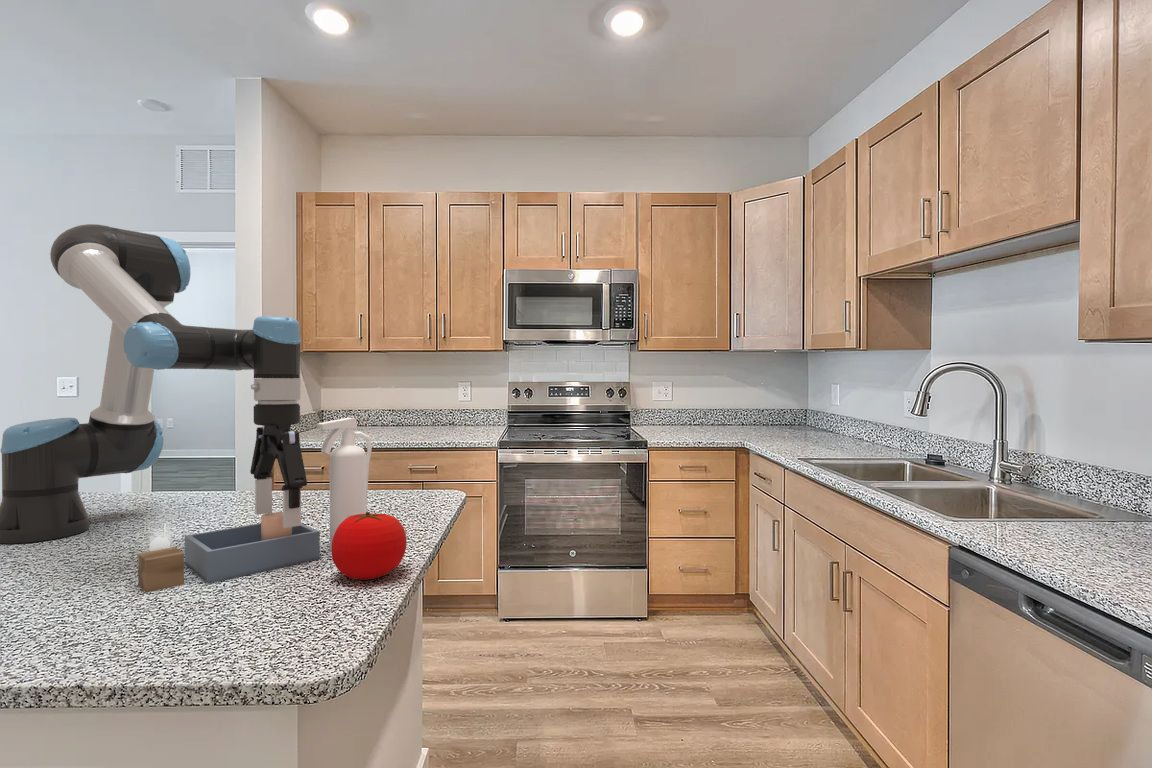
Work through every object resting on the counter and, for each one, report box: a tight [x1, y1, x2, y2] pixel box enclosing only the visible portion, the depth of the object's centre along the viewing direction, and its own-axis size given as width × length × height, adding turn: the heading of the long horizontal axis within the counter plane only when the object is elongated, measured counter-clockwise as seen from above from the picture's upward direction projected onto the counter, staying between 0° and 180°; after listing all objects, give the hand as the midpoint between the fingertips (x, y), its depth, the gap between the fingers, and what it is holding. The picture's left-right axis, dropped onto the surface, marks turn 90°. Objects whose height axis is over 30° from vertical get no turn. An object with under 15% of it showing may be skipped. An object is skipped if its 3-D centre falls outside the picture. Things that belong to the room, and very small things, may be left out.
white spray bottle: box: [316, 417, 373, 552], centre depth 113 cm, size 7×12×25 cm, turn 142°
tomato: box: [330, 511, 407, 581], centre depth 98 cm, size 12×12×10 cm
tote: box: [184, 522, 321, 584], centre depth 105 cm, size 14×18×5 cm
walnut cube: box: [137, 546, 185, 593], centre depth 93 cm, size 5×5×5 cm
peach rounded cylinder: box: [260, 511, 292, 541], centre depth 107 cm, size 5×5×7 cm
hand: (277, 519), depth 107 cm, fingers open, 13 cm apart
